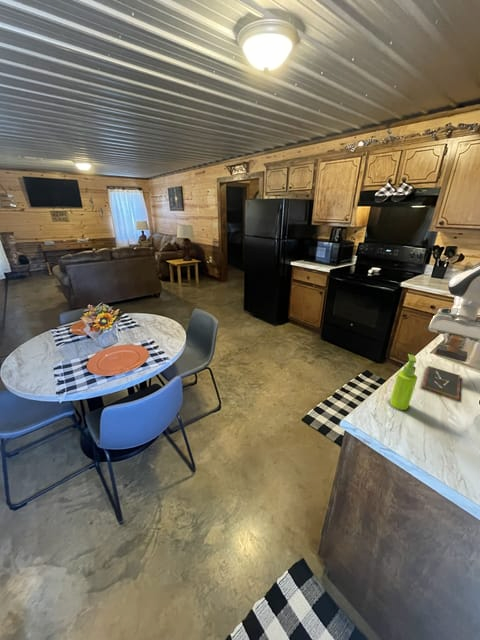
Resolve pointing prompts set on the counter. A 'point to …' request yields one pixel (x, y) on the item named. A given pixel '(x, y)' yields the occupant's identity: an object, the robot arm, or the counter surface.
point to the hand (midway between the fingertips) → (453, 345)
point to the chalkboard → (442, 382)
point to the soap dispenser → (404, 385)
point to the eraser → (452, 349)
